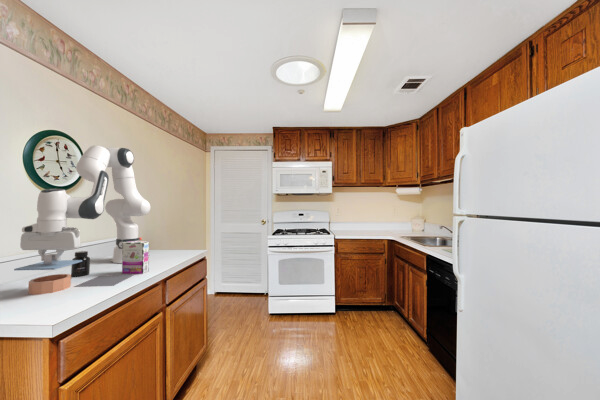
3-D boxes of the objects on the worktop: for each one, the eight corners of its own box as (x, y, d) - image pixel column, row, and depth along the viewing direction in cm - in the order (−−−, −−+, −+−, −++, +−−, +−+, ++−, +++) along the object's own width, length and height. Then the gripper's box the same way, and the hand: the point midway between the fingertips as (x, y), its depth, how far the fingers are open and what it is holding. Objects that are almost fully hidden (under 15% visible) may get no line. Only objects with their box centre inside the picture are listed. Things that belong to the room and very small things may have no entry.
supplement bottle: (78, 278, 117) (79, 253, 117) (67, 277, 118) (67, 253, 118) (93, 274, 124) (93, 250, 124) (82, 273, 125) (83, 250, 125)
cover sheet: (47, 262, 108) (47, 251, 108) (82, 261, 109) (82, 251, 109) (14, 270, 94) (14, 258, 94) (54, 269, 95) (54, 257, 95)
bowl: (47, 285, 107) (48, 274, 107) (77, 284, 108) (78, 273, 108) (19, 296, 95) (19, 283, 95) (53, 295, 96) (54, 282, 96)
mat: (99, 276, 120) (99, 275, 120) (134, 276, 122) (134, 275, 122) (73, 288, 104) (73, 286, 104) (113, 286, 106) (113, 285, 106)
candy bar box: (149, 272, 129) (149, 241, 129) (142, 274, 124) (143, 242, 124) (128, 271, 129) (129, 240, 129) (121, 274, 124) (122, 242, 124)
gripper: (84, 226, 106) (84, 258, 106) (32, 226, 104) (31, 259, 103) (73, 227, 100) (72, 261, 99) (17, 228, 97) (16, 262, 97)
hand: (51, 260), depth 101 cm, fingers closed on cover sheet, 3 cm apart
